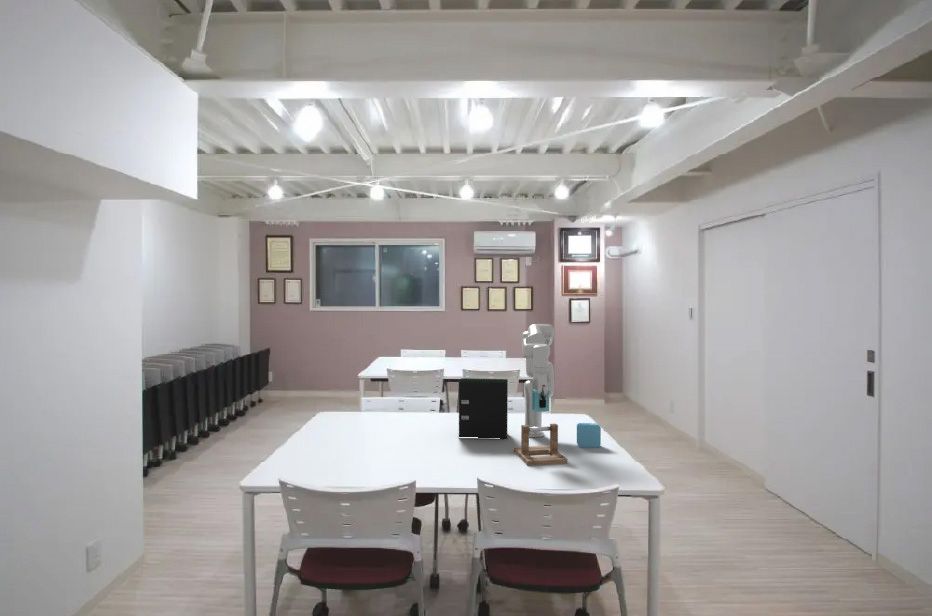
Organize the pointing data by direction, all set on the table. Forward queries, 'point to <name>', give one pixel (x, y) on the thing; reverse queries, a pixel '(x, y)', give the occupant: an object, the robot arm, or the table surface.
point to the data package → (588, 435)
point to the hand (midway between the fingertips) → (540, 405)
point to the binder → (483, 408)
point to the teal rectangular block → (536, 401)
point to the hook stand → (540, 447)
